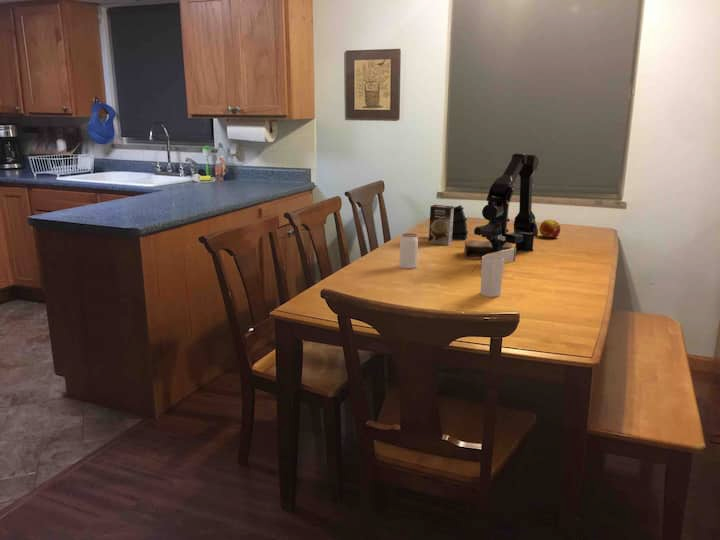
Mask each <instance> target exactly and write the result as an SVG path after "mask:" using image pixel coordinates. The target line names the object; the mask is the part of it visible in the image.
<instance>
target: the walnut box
mask: <svg viewBox="0 0 720 540" xmlns="http://www.w3.org/2000/svg"><path fill="white" fill-rule="evenodd" d="M511 248H514V247H513V245H512V243H508V242H506V243H505V244H504V246H503V247H502V249H501V251H502V250H507V249H511ZM493 252H494V251H493V247H492V244H491V242H490V241H489V240H476V239H475V240H473V239H466V240H464V258H465V259H476V260H477V259H478V260H479V259H481V260H482V256H485V255H486V254H488V253H493Z"/></svg>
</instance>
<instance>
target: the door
mask: <svg viewBox="0 0 720 540" xmlns="http://www.w3.org/2000/svg"><path fill="white" fill-rule="evenodd" d="M516 253H517V248H516V247H513V248H511V249H507V250H502V251H497V252H493V253H488V254H486V255H497V256H501V257H504V264H506V263H507V264H508V263H512V262H516V255H517V254H516Z"/></svg>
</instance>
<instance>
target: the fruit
mask: <svg viewBox="0 0 720 540" xmlns="http://www.w3.org/2000/svg"><path fill="white" fill-rule="evenodd" d="M538 231H539V233H540V235H542V236H543V237H545V238H549V239H555V238H557V237H558V236H560V233H561V225H560V223H559V222H557V221H556V220H553V219H545V220H543V221H542V222H541V223H540V225H539V228H538Z"/></svg>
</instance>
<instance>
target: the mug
mask: <svg viewBox="0 0 720 540" xmlns="http://www.w3.org/2000/svg"><path fill="white" fill-rule="evenodd" d="M504 264H505V263H504V257H501V256H497V255H485V256H482V259H481V274H480V291H479V292H480V294H481V296H484V297H489V298H496V297H500V296H501V294H502V293H501V292H502V284H503V274H504Z"/></svg>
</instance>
